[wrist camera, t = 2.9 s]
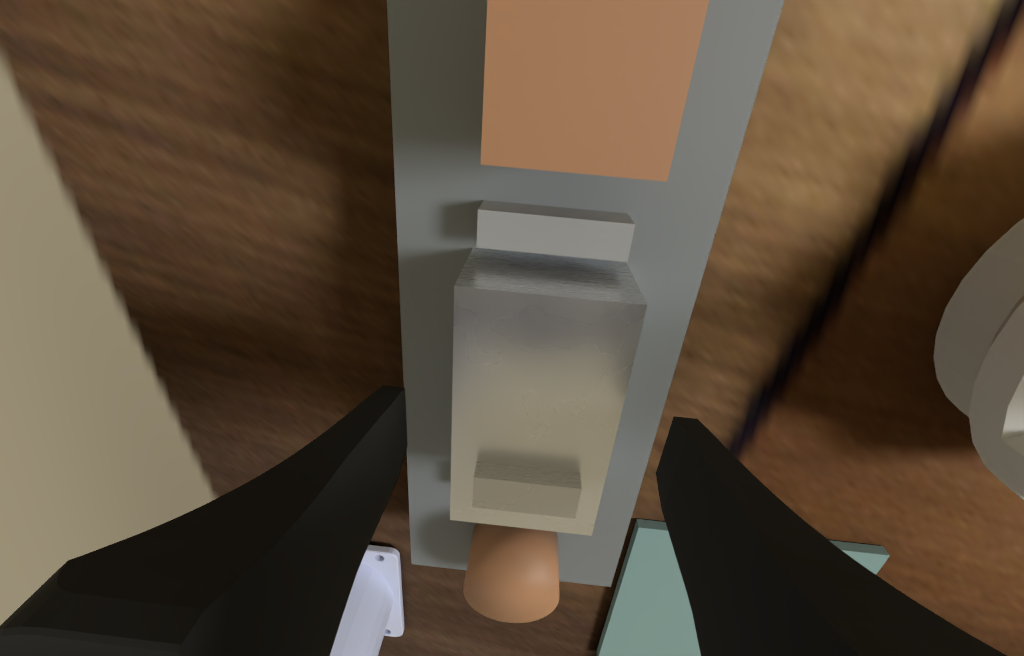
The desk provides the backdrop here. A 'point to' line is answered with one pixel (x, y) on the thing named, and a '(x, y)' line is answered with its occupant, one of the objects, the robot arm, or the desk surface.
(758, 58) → the ridged gray base plate
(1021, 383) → the flag stand
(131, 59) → the desk surface
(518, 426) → the lever cap
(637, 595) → the rubber mat
